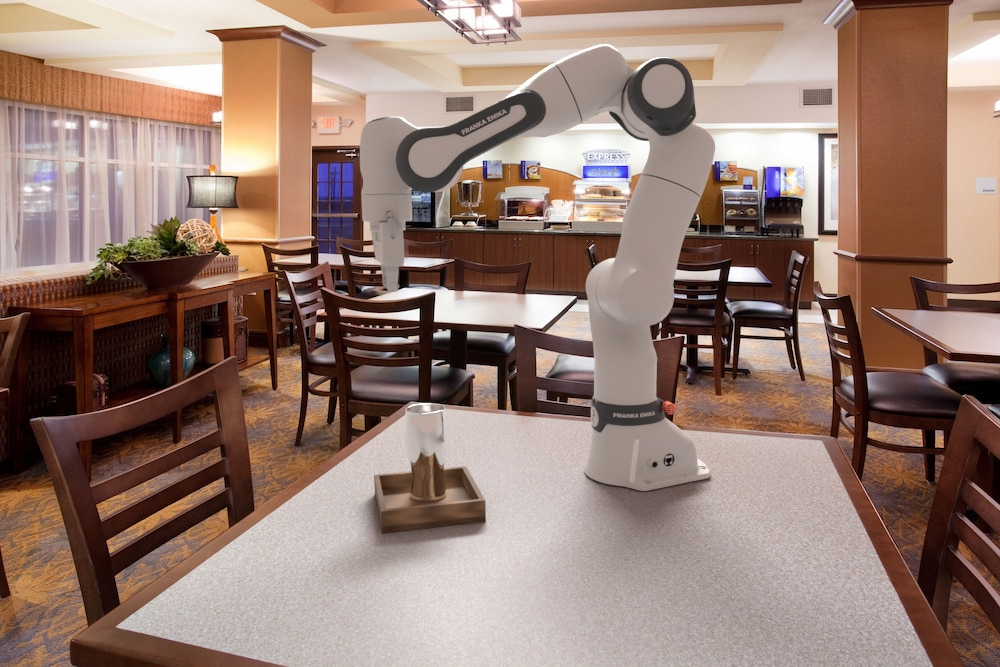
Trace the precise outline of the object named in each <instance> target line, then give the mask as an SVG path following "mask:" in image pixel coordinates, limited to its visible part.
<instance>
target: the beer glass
mask: <svg viewBox="0 0 1000 667" xmlns="http://www.w3.org/2000/svg"><path fill="white" fill-rule="evenodd" d="M404 410H405V413H404V414H405V416H404V439H405V445H406V447H405V448H406V452H407V458H408V461H409V466H410V470H411V473H412V483H411V490H410V497H411V498H412V499H413V500H416V501H420V502H432V501H437V500H440V499H442V498H444V497H445V496H446V487H445V483H444V474H443V473H444V468H445V460H446V454H447V447H448V422H447V412H446V406H445V405H443V404H440V403H435V402H434V403H433V402H424V403H414V404H411V405H409V406H407V407H406V408H405V409H404Z"/></svg>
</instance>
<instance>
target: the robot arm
mask: <svg viewBox="0 0 1000 667" xmlns="http://www.w3.org/2000/svg"><path fill="white" fill-rule="evenodd" d="M694 90H695V89H694V83H693V78H692V76H691V74H690V72H689V70H688V68H687V67H686V65H684V64H683V63H682V62H680V61H679V60H677V59H674V58H671V57H663V56H661V57H656V58H651V59H649V60H647V61H645V62H644V63H642V64H640V65H639V66H638V67H637V68H636V69H634V68H632V67H630V65H629V64H628V63H627V60H626V58H625V57H624V56H623V54H622V53H621V52H620V51H619V50H618V49H617V48H616V47H614V46H612V45H611V44H606V43H605V44H602V43H601V44H599V45H595V46H592V47H589V48H586V49H583V50H580V51H578V52H575V53H573V54H570V55H568V56H566V57H563V58H562V59H560V60H557V61H556V62H554V63H552V64H550V65H548V66H546V67H545V68H543V69H541V70H540V71H539V72H536V73H535V74H534V75H532V76H531V77H529V78H528V79H527V80H526V81H524V82H523V83H521V84H520V85H519V86H517V88H516V89H514V90H513V91H511V92H510V93H509V94H507V95H506V96H505V97H503V98H502V99H501V100H499V101H497V102H495V103H493V104H492V105H489V106H488V107H485V108H483V109H482V110H481V109H480V110H479V111H477V112H475V113H473V114H471V115H470V116H467V117H465V118H464V119H462V120H459V121H458V122H454V123H453V124H451V125H448V126H447V125H446V126H441V127H424V128H419V127H417V126H415V125H414V124H412V123H410V122H408V120H406V119H405V118H404V117H401V116H396V115H394V116H384V117H378V118H375V119H372V120H370V121H368V122H367V123H366V124H365V125H364V127H362V130H361V135H360V143H359V167H360V168H359V169H360V170H359V171H360V174H361V176H362V188H361V192H360V195H361V214H362V215H361V217H362V222H368V223H369V230H370V232H371V233H370V234H371V239H372V240H371V241H372V246H373V251H374V256H375V260H376V261H377V262H378V263H380V269H381V270H380V271H381V275H382V285H383V286H384V287H385V288H386V290H387V291H388V292H390V293H392V292H397V291H398V290H399V287H398V286H399V285H398V284H399V283H398V282H399V273H400V272H399V269H400V268H399V267H403V266H404V265H405V245H404V231H406V222H410V221H411V222H412V221H413V201H412V190H414V191H416V192H421V193H441V192H446V191H448V190H450V189H451V188H453V187H454V186H455V185H456V184H457V183H458V182H459V180H460V179H461V177H462V175H463V172H464V166H465V165H466V164H467V163H469V162H470V161H473V160H474V159H476V158H478V157H480V156H482V155H484V154H486V153H487V152H490V151H491V150H494V149H495V148H498V147H500V146H502V145H503V144H506V143H508V142H509V141H512V140H516V139H520V138H529V137H534V138H536V137H537V138H546V137H550V136H553V135H556V134H560V133H562V132H565V131H567V130H570V129H572V128H575V127H576V126H578V125H581V124H582V123H584V122H586V121H588V120H590V119H591V118H593V117H595V116H597V115H599V114H601V113H605V112H606V113H607V112H608V113H609V114H608V115H610V116H611V117H612V119H613V120H614V121H615V122H617V124H618V125H619V126H620V127H621V128H622V129H623V130H624V131H625V132H626V133H627V134H628V135H629V136H630V137H632V138H634V139H636V140H639V141H644V142H649V152H648V157H647V159H646V162H645V165H644V167H643V169H642V171H641V173H640V176H639V179H638V181H637V183H636V185H635V187H634V191H633V193H632V194H631V197H630V200H629V202H628V205H627V207H626V209H625V212H624V215H623V217H622V228H621V235H620V239H619V242H618V243H619V244H618V248H617V252H616V255H615V257H612V258H608V259H605V260H603V261H600V262H599V263H597V264H596V265H595V266H594V267H593V268H592V269H591V270H590V271H589V273H588V275H587V276H586V277H587V278H586V281H585V292H586V296H587V304H588V314H589V324H590V332H591V340H592V347H593V358H594V359H593V367H594V368H593V369H594V370H593V372H594V373H593V377H594V378H593V379H594V382H593V396H592V397H591V408H590V422H591V428H592V434H591V442H590V448H589V453H588V457H587V460H586V465H585V466H584V467H585V468H584V473H585V475H586V476H587V477H589V478H590V479H591V480H594V481H596V482H599V483H602V484H605V485H611V486H618V487H625V488H629V489H633V490H636V491H641V492H647V491H651V490H657V489H658V490H659V489H662V488H667V487H672V486H676V485H681V484H686V483H691V482H696V481H701V480H705V479H710V477H711V470H710V467H709V466H708V465H707V464H706V463H705V462H703V461H702V460H701V459H700V458H698V453H697V449H696V444H695V443H694V440H693V439H692V437H691V436H689V434H688V433H686V432H685V431H684V430H683V429H681V428H680V427H678V426H677V425H676V424H674V423H673V422H672V421H671V420H670V419H668V418H667V417H666V415H665V413H666V414H668V415H674V414H675V412H676V411H677V405H676V404H674V403H672V402H671V401H669V400H664V399H661V398H659V397H658V396H657V370H658V369H657V368H658V367H657V366H658V365H657V363H658V356H657V352H656V349H655V347H654V343H653V342H654V341H653V338H652V331H651V326H653V325H656V324H658V323H660V322H662V321H663V320H664V319H665V318H666V317H667V316H668V315H669V313H671V310H672V308H673V305H674V301H675V291H674V290H675V289H674V283H675V282H674V281H675V277H676V272H677V267H678V263H679V258H680V253H681V251H682V250H681V249H682V246H683V242H684V239H685V237H686V233H687V232H688V230H689V227H690V225H691V222H692V219H693V218H694V215H695V212H696V210H697V207H698V206H699V203H700V200H701V198H702V196H703V194H704V191H705V188H706V186H707V182H708V180H709V177H710V173H711V170H712V166H713V162H714V157H715V152H716V143H715V140H714V137H713V136H712V135H711V134H710V133H709V132H708V131H707V130H706V129H704V128H703V127H701V126H699V125H697V124H695V123H693V122H694V120H695V119H696V117H697V110H696V100H695V91H694Z"/></svg>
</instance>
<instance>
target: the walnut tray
mask: <svg viewBox="0 0 1000 667" xmlns="http://www.w3.org/2000/svg"><path fill="white" fill-rule="evenodd" d="M443 474H444V483H445V487H446V496H445V497H444V498H442V499H440V500H437V501H432V502H420V501H416V500H413V499H412V498H411V497H410V490H411V483H412V473H411V471H399V472H390V473H381V474H380V473H379V474H374V475H373V481H374V484H373V485H374V497H375V501H376V502H375V503H376V509H377V512H378V513H377V514H378V518H379V519H378V520H379V523H380V524H379V525H380V529H381V534H389V533H390V532H391V533H398V531H400V532H407V531H406V530H408V531H415V530H414V529H417V530H424V529H434V528H441V527H450V526H460V525H469V524H478V523H486V522H487V521H486V520H487V516H486V515H487V513H486V498H485V497H484V495H483V494H482V492H481V490H480V488H479V487H478V485H477V482H475V480H474V478H473V476H472V475H471V473H470V470H469V469H468V467H467V466H466V465H465V466H453V467H444V473H443ZM391 533H390V534H391Z"/></svg>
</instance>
